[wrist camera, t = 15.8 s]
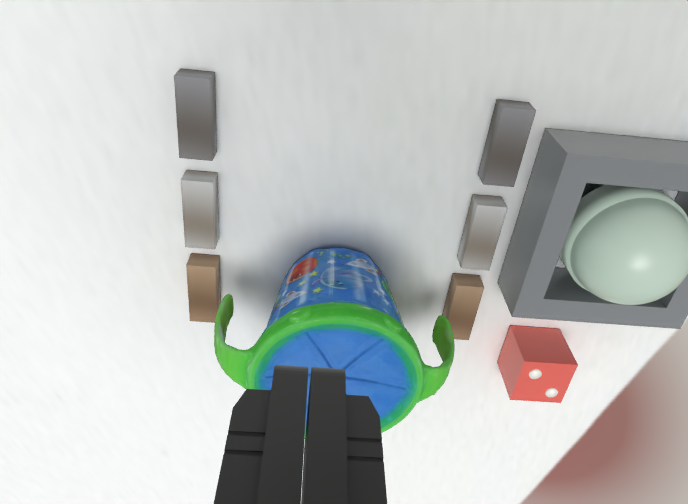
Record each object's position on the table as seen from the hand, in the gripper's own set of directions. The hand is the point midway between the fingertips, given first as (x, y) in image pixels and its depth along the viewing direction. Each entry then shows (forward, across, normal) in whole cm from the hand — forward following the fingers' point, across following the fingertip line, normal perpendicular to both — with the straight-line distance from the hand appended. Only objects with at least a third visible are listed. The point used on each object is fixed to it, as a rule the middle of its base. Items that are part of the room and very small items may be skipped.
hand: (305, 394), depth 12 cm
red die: (+25, -18, +20) cm, 37 cm away
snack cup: (+25, -2, +15) cm, 30 cm away
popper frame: (+25, -20, +8) cm, 33 cm away
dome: (+25, -20, +8) cm, 33 cm away
